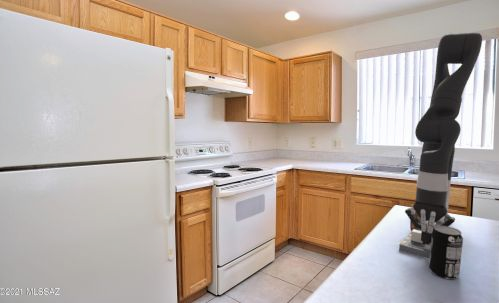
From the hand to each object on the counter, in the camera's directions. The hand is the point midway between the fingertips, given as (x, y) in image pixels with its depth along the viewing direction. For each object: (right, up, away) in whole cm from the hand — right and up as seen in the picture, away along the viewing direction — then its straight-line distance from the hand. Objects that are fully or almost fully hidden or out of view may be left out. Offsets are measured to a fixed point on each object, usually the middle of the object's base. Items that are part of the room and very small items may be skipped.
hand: (426, 243), depth 83 cm
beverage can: (-2, -5, -10) cm, 11 cm away
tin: (+10, -2, +19) cm, 22 cm away
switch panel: (+2, -3, +4) cm, 5 cm away
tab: (0, -1, +5) cm, 5 cm away
